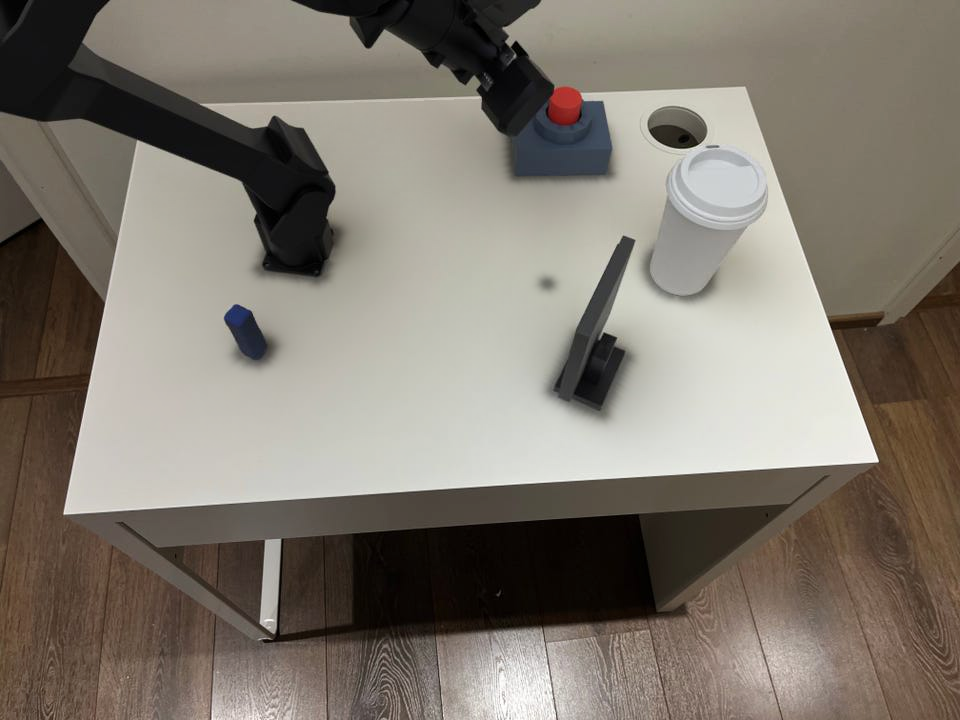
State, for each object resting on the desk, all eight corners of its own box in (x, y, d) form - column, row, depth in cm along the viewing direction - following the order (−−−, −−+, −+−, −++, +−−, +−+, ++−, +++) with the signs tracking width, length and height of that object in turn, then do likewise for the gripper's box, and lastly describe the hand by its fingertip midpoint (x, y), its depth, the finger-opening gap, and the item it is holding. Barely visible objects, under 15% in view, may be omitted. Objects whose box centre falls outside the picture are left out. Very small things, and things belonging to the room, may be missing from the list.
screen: (556, 396, 66) (574, 330, 56) (597, 309, 71) (621, 234, 61) (569, 402, 66) (590, 337, 55) (609, 314, 71) (636, 239, 60)
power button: (549, 126, 80) (551, 108, 78) (546, 104, 82) (548, 86, 80) (580, 126, 80) (584, 108, 78) (576, 104, 82) (580, 86, 80)
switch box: (515, 176, 84) (518, 138, 78) (510, 128, 88) (513, 89, 82) (606, 174, 84) (615, 136, 79) (597, 127, 88) (606, 88, 83)
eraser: (257, 363, 71) (239, 327, 65) (240, 353, 71) (220, 316, 65) (271, 347, 71) (254, 310, 66) (253, 337, 72) (235, 300, 66)
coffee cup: (726, 248, 79) (779, 149, 66) (717, 316, 75) (772, 224, 62) (642, 229, 80) (678, 128, 67) (629, 296, 76) (665, 201, 63)
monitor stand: (553, 390, 70) (560, 363, 65) (578, 337, 73) (587, 306, 68) (599, 411, 69) (611, 384, 64) (623, 355, 72) (636, 326, 67)
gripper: (547, -2, 54) (633, 75, 67) (439, -120, 62) (534, -31, 74) (457, 111, 59) (553, 163, 71) (367, -12, 67) (468, 55, 79)
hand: (527, 83), depth 74 cm, fingers closed
